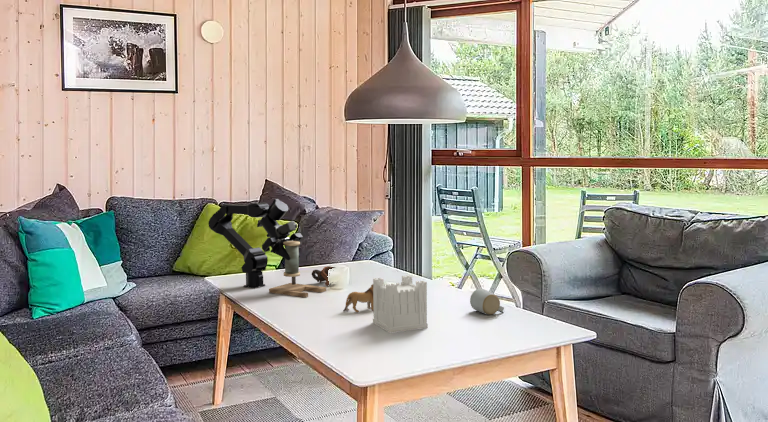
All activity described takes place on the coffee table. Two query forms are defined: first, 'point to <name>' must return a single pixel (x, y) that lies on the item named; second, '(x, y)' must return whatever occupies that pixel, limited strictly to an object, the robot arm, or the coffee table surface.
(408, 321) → the castle model
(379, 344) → the coffee table surface
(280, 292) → the wooden plank structure
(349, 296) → the lion figurine
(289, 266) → the cord spool
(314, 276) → the winged dragon figurine
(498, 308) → the ceramic mug
